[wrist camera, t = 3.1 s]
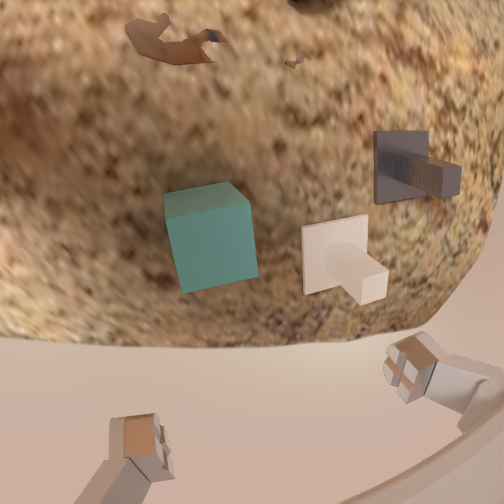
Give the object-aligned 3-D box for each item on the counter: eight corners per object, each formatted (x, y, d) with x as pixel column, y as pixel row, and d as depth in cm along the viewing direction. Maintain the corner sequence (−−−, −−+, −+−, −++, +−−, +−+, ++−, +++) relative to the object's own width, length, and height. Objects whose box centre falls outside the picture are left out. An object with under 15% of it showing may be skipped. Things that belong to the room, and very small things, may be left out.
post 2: (374, 202, 30) (421, 226, 24) (373, 131, 27) (426, 141, 21) (423, 194, 31) (470, 214, 25) (425, 130, 28) (476, 141, 22)
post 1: (303, 292, 32) (335, 334, 26) (300, 226, 29) (339, 259, 23) (362, 275, 33) (401, 310, 27) (365, 213, 30) (411, 240, 24)
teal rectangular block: (176, 253, 27) (182, 294, 21) (163, 193, 24) (165, 219, 18) (236, 240, 28) (258, 276, 22) (228, 181, 25) (250, 202, 20)
